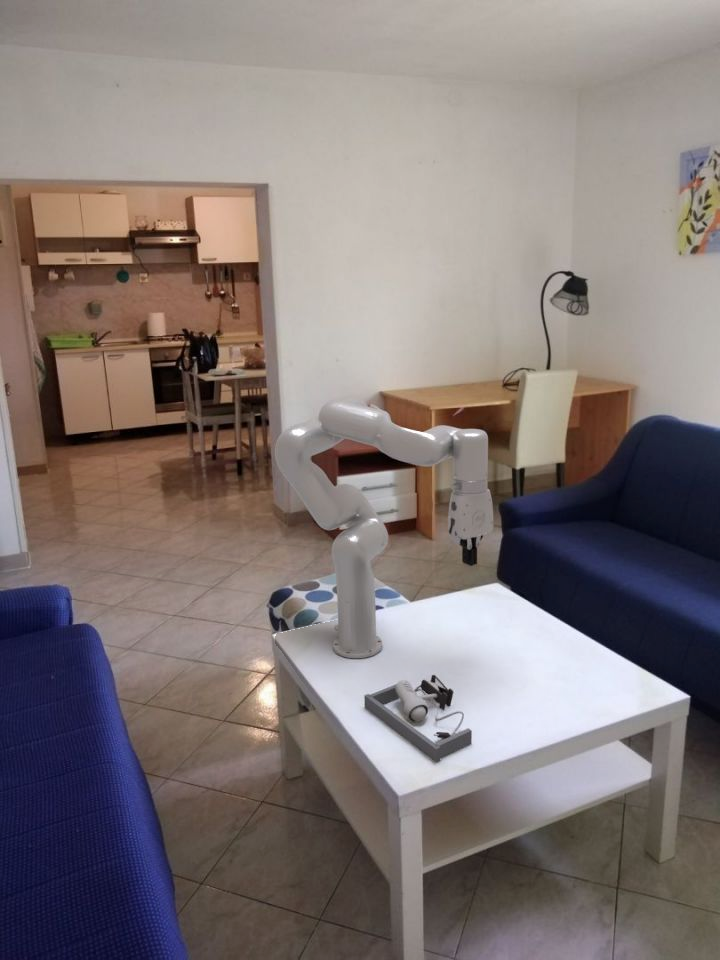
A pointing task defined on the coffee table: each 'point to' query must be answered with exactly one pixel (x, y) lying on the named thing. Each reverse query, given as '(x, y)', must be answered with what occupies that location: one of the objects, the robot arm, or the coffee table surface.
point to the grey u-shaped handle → (408, 732)
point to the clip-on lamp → (417, 706)
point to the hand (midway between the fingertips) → (469, 563)
